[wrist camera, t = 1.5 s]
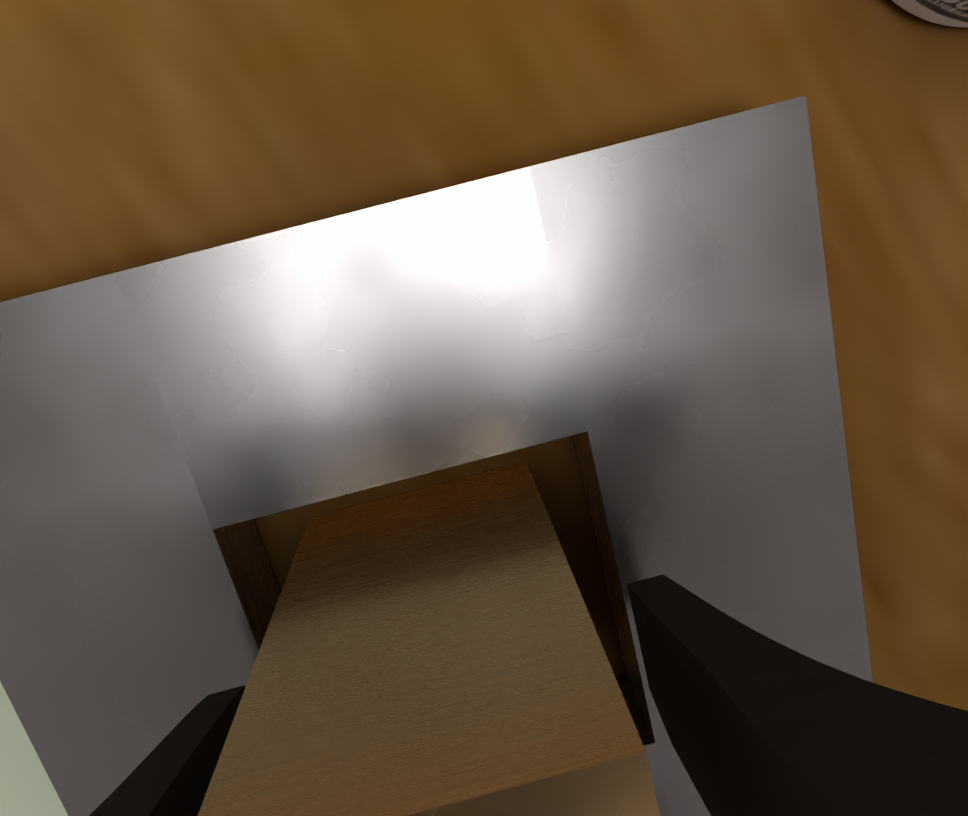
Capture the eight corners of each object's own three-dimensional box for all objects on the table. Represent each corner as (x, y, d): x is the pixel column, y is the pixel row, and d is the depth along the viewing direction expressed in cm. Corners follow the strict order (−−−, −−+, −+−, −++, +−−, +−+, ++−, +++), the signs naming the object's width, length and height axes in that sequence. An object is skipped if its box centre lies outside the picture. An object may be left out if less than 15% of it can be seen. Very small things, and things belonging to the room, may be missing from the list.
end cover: (572, 649, 16) (743, 1150, 7) (371, 703, 15) (313, 1268, 7) (525, 460, 14) (667, 803, 6) (308, 518, 14) (150, 941, 6)
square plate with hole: (839, 783, 17) (893, 856, 15) (213, 952, 17) (186, 1048, 15) (748, 112, 13) (805, 95, 11) (-80, 325, 13) (-169, 345, 11)
